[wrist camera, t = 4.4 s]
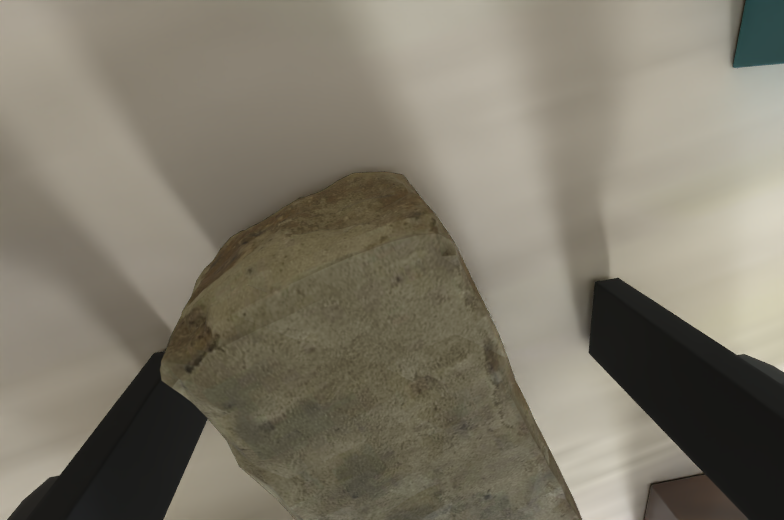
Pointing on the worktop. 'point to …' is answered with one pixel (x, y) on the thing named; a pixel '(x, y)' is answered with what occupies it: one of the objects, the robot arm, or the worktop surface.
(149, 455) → the robot arm
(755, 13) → the teal block
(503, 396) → the stone block
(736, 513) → the walnut block
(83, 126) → the worktop surface
